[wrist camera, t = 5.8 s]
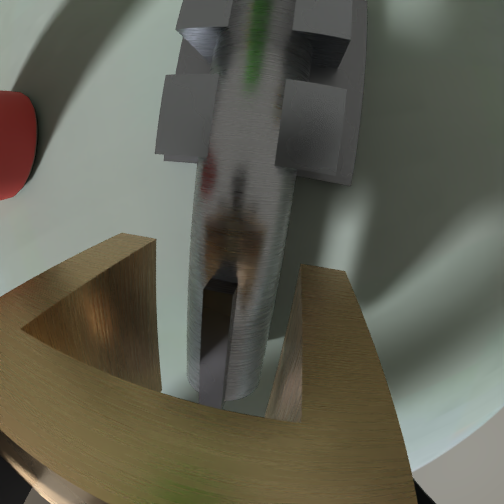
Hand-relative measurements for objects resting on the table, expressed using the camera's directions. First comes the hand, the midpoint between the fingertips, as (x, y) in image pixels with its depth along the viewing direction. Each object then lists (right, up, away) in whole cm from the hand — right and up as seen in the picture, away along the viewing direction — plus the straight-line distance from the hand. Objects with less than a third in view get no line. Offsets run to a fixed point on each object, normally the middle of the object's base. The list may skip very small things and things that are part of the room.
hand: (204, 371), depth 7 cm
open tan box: (0, +1, +1) cm, 1 cm away
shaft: (+1, +5, +3) cm, 6 cm away
